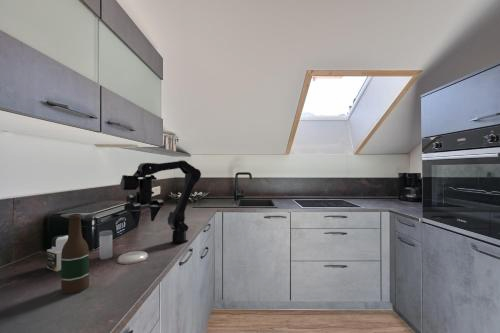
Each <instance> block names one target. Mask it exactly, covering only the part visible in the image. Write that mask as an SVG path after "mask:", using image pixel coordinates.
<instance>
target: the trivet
mask: <svg viewBox="0 0 500 333" xmlns="http://www.w3.org/2000/svg"><path fill="white" fill-rule="evenodd" d="M148 258H149V254H148V253H147V252H146V251H141V250H139V251H136V250H135V251H129V252H125V253H123V254H121V255H119V257H118V258H117V260H116V262H117V263H118V264H121V265H132V264H133V265H134V264H137V263H141V262H144V261H146V260H148Z"/></svg>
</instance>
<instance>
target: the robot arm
mask: <svg viewBox="0 0 500 333" xmlns="http://www.w3.org/2000/svg"><path fill="white" fill-rule="evenodd" d="M177 169H179V170H180V171H181V172H182V173H183V174H184V185H183V188H182V191H181V192H180V193H181V194H180V196H179V199H178V201H177V205H176V206H175V210H173V211H170V212H169V213H168V217H167V219H166V220H167V225H168V226H169V227H170V229H171V230H172V241H170V244H176V245H182V244H185V243H187V242H188V241H189V239H187V232H188V229H189V226H188V225H187V224H186V223H185V220H186V216H185V211H186V209H187V207H188V204H189V201H190V198H191V195H192V193H193V190H194V187H195V185H196V184H197V183H198V182H199V181H200V179H201V177H202V173H201V170H200V169H198V168H196V167H195V166H193V165H192V164H189V163H188V162H187V161H186V160H183V159H182V160H181V159H180V160H177V161H171V162H170V161H169V162H167V161H166V162H162V163H161V162H160V163H159V162H158V163H157V162H142V163H139V165H138V166H137V169H136V171H135V172H134V174H133V175H127V174H123V175H122V176H121V180H120V182H119V184H120V185H119V186H120V190H121V191H122V192H123V191H136V190H137V189H138V191H136V193H135V194H136V195H132V194H128V195H126V198H125V199H126V202H127V203H126V202H125V204H124V206H123V208H124V209H123V210H124V211H126V212H129V213H130V214H131V216H132V219H133V221H134V224H135V226H139V224H140V218H141V213H142V210H141V208H145V207H148V208H149V210H150V221H151V222H154V221H155V219H156V217H157V215H158V213H159V211H160V210H161V208H162V207H163V206H165V205H164V203H165V202H164V200H163V199H158V198H155V199H153V195H154V194H155V191H153V181H157V179H158V178H157V177H156V176H155V175H154V174H157V173H159V172H163V171H169V170H177Z"/></svg>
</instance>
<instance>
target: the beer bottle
mask: <svg viewBox="0 0 500 333" xmlns="http://www.w3.org/2000/svg"><path fill="white" fill-rule="evenodd" d="M82 218H83V217H82V214H81V213H72V214H68V218H67V219H68V220H69V221H68V222H69V223H68V234H67V235H68V240H67V241H66V243H65V244H64V246H63V249H62V254H61V270H60V273H61V274H60V275H61V276H60V278H61V279H60V280H61V283H60V285H61V286H60V287H61V294H62V295H69V296H71V295H75V294H80V293H82V292H83V291H85V290H88V289H89V287H90V252H89V249H90V248H89V245H88V243H87V241H86V240H85V239H84V238H83V232H82V222H81V221H82V220H81V219H82Z"/></svg>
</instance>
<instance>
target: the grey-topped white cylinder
mask: <svg viewBox="0 0 500 333" xmlns="http://www.w3.org/2000/svg"><path fill="white" fill-rule="evenodd" d="M98 234H99V240H98V241H99V244H98V245H99V259H100V260H108V259H111V258H112V257H113V230H111V229H110V230H108V229H107V230H101V231H99V233H98Z"/></svg>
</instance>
